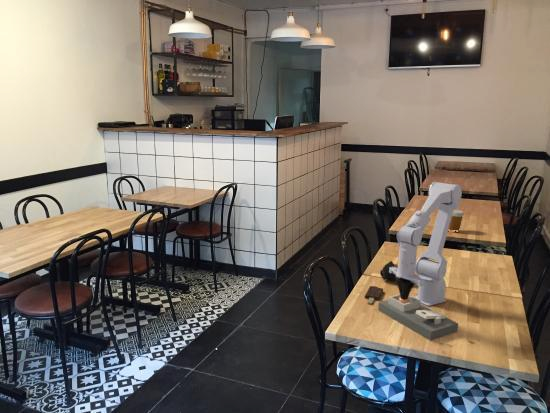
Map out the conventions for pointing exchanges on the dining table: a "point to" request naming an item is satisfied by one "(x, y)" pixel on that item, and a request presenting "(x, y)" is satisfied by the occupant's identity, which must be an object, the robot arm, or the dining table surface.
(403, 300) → the button
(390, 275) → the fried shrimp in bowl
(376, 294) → the ice cream bar
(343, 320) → the dining table surface
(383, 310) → the grey board with tray
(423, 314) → the rocker switch
